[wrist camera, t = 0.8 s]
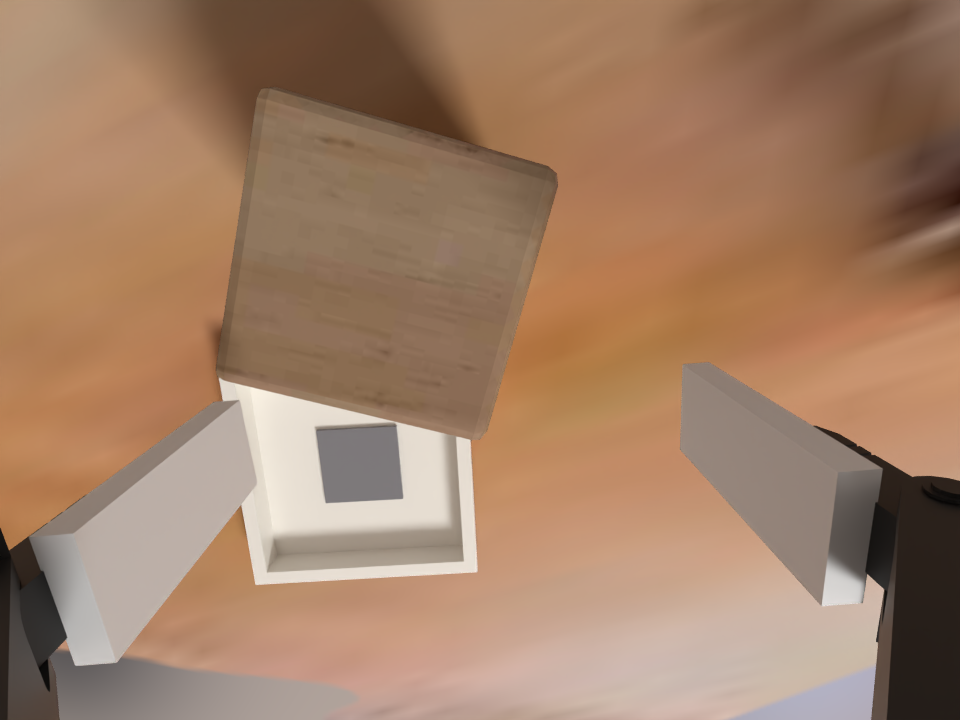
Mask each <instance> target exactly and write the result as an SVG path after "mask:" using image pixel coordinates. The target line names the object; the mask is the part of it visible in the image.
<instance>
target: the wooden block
mask: <svg viewBox="0 0 960 720" xmlns="http://www.w3.org/2000/svg"><path fill="white" fill-rule="evenodd" d="M557 187H558V181H557V173H555V172H554V171H553V170H552V169H551V168H550V167H548V166H546V165H542V164H539V163H535V162H532V161H528V160H525V159H522V158H518V157H515V156H511V155H508V154H504V153H501V152H498V151H494V150H491V149H487V148H484V147H480V146H477V145H473V144H470V143H467V142H463V141H460V140H456V139H453V138H449V137H446V136H443V135H439V134H436V133H432V132H429V131H425V130H422V129H419V128H415V127H412V126H408V125H405V124H401V123H398V122H394V121H391V120H388V119H384V118H381V117H377V116H374V115H370V114H367V113H364V112H360V111H357V110H353V109H350V108H346V107H343V106H340V105H336V104H333V103H329V102H326V101H322V100H319V99H315V98H312V97H309V96H305V95H302V94H298V93H295V92H291V91H288V90H285V89H281V88H278V87H270V88H263V89H261V90H260V92H259V94H258V96H257V100H256V107H255V113H254V120H253V127H252V133H251V140H250V146H249V153H248V160H247V166H246V173H245V179H244V186H243V193H242V199H241V206H240V212H239V219H238V226H237V232H236V239H235V245H234V252H233V259H232V265H231V272H230V279H229V285H228V292H227V298H226V305H225V312H224V318H223V325H222V331H221V338H220V345H219V351H218V358H217V364H216V372H217V377H219V378H221V379H222V380H224V381H227V382H231V383H236V384H240V385H244V386H248V387H252V388H256V389H261V390H265V391H269V392H273V393H277V394H281V395H286V396H290V397H294V398H298V399H302V400H306V401H311V402H315V403H319V404H323V405H327V406H332V407H336V408H340V409H344V410H348V411H352V412H357V413H361V414H365V415H369V416H373V417H377V418H382V419H386V420H390V421H394V422H398V423H402V424H407V425H411V426H415V427H419V428H423V429H427V430H432V431H436V432H440V433H444V434H448V435H453V436H457V437H461V438H465V439H469V440H480V439H481V438H482V437H483V435H484V434H485V433H486V432H487V430H488V426H489V423H490V419H491V416H492V412H493V409H494V405H495V402H496V398H497V395H498V391H499V388H500V385H501V381H502V378H503V374H504V371H505V367H506V364H507V360H508V357H509V353H510V350H511V346H512V343H513V340H514V336H515V333H516V329H517V326H518V322H519V319H520V315H521V312H522V308H523V305H524V301H525V298H526V295H527V291H528V288H529V284H530V281H531V277H532V274H533V270H534V267H535V263H536V260H537V256H538V253H539V249H540V246H541V243H542V239H543V236H544V232H545V229H546V225H547V222H548V218H549V215H550V211H551V208H552V204H553V201H554V198H555V194H556V191H557Z"/></svg>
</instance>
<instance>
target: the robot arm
mask: <svg viewBox="0 0 960 720" xmlns="http://www.w3.org/2000/svg"><path fill="white" fill-rule="evenodd" d="M680 450H681V451H682V452H683V453H684V454H685V456H686V457H687V458H688V459H689V460H690V461H691V462H692V463H693V464H694V466H695V467H696V468H697V469H698V470H699V471H700V472H701V473H702V474H703V475H704V477H705V478H706V479H707V480H708V481H709V482H710V483H711V484H712V485H713V487H714V488H715V489H716V490H717V491H718V492H719V493H720V494H721V495H722V497H723V498H724V499H725V500H726V501H727V502H728V503H729V504H730V505H731V506H732V508H733V509H734V510H735V511H736V512H737V513H738V514H739V515H740V516H741V518H742V519H743V520H744V521H745V522H746V523H747V524H748V525H749V526H750V528H751V529H752V530H753V531H754V532H755V533H756V534H757V535H758V536H759V537H760V539H761V540H762V541H763V542H764V543H765V544H766V545H767V546H768V547H769V549H770V550H771V551H772V552H773V553H774V554H775V555H776V556H777V557H778V559H779V560H780V561H781V562H782V563H783V564H784V565H785V566H786V567H787V568H788V570H789V571H790V572H791V573H792V574H793V575H794V576H795V577H796V578H797V580H798V581H799V582H800V583H801V584H802V585H803V586H804V587H805V588H806V589H807V591H808V592H809V593H810V594H811V595H812V596H813V597H814V598H815V599H816V601H817V602H818V603H819V604H820V605H821V606H831V605H843V604H856V603H863V598H864V592H865V585H866V578H867V574H868V575H869V576H870V577H871V578H872V579H874V580H875V581H876V582H877V583H878V584H879V585H880V586H881V587H882V588H884V595H883V601H882V607H881V614H880V620H879V626H878V632H877V638H876V642H878V652H877V663H876V674H875V685H874V696H873V707H872V718H871V720H960V481H958V480H954V479H950V478H942V477H935V476H915V477H911V476H910V475H908V474H906V473H905V472H903V471H901V470H899V469H898V468H896V467H894V466H893V465H891V464H889V463H888V462H886V461H884V460H882V459H881V458H879V457H877V456H876V455H871V452H869V451H867V450H865V449H864V448H862V447H860V446H857V444H855V443H854V442H852V441H850V440H849V439H847V438H845V437H843V436H842V435H840V434H838V433H835V432H832V431H829V430H826V429H823V428H821V427H818V426H812V425H810V424H809V423H807V422H806V421H804V420H802V419H801V418H799V417H797V416H796V415H794V414H792V413H791V412H789V411H788V410H786V409H784V408H783V407H781V406H779V405H778V404H776V403H774V402H773V401H771V400H770V399H768V398H766V397H765V396H763V395H761V394H760V393H758V392H756V391H755V390H753V389H752V388H750V387H748V386H747V385H745V384H743V383H742V382H740V381H738V380H737V379H735V378H734V377H732V376H730V375H729V374H727V373H725V372H724V371H722V370H720V369H719V368H717V367H716V366H714V365H712V364H711V363H709V362H706V363H693V364H683V372H682V405H681V437H680ZM257 484H258V482H257V478H256V473H255V468H254V464H253V459H252V455H251V450H250V445H249V441H248V436H247V432H246V427H245V422H244V418H243V413H242V409H241V404H240V400H233V401H220V402H213V403H212V404H210V405H209V406H208V407H206V408H205V409H204V410H202V411H201V412H199V413H198V414H197V415H195V416H194V417H193V418H191V419H190V420H188V421H187V422H186V423H184V424H183V425H182V426H180V427H179V428H178V429H176V430H175V431H173V432H172V433H171V434H169V435H168V436H167V437H165V438H164V439H162V440H161V441H160V442H158V443H157V444H156V445H154V446H153V447H151V448H150V449H149V450H147V451H146V452H145V453H143V454H142V455H141V456H139V457H138V458H136V459H135V460H134V461H132V462H131V463H130V464H128V465H127V466H125V467H124V468H123V469H121V470H120V471H119V472H117V473H116V474H115V475H113V476H112V477H110V478H109V479H108V480H106V481H105V482H104V483H102V484H101V485H99V486H98V487H97V488H95V489H94V490H93V491H91V492H90V493H89V494H87V495H85V496H83V497H82V498H81V499H79V500H78V501H77V502H75V503H74V504H73V505H71V506H70V507H68V508H67V509H66V510H65V511H64V512H62V513H60V514H59V515H57V516H56V517H55V518H53V519H52V520H51V521H50V522H49V523H46V524H45V525H44V526H42V527H41V528H40V529H38V530H37V531H35V532H34V533H33V534H31V535H30V536H29V537H27V538H26V539H24V540H23V541H22V542H20V543H19V544H18V545H16V546H15V547H13V548H12V549H11V550H9V549H8V547H7V544H6V542H5V539H4V536H3V534H2V531H1V528H0V720H60V719H59V709H58V697H57V686H56V675H55V671H54V668H53V666H52V663H51V661H50V658H49V656H50V655H51V654H52V653H53V652H54V651H55V650H56V649H57V648H58V647H59V646H60V645H61V644H62V643H63V642H64V641H65V640H66V641H67V644H68V647H69V650H70V652H71V655H72V658H73V661H74V663H75V666H79V665H92V664H105V663H116V662H117V661H118V660H119V659H120V658H121V656H122V655H123V654H124V652H125V651H126V650H127V649H128V647H129V646H130V645H131V644H132V642H133V641H134V640H135V638H136V637H137V636H138V635H139V633H140V632H141V631H142V630H143V628H144V627H145V626H146V625H147V623H148V622H149V621H150V619H151V618H152V617H153V616H154V614H155V613H156V612H157V611H158V609H159V608H160V607H161V606H162V604H163V603H164V602H165V600H166V599H167V598H168V597H169V595H170V594H171V593H172V592H173V590H174V589H175V588H176V586H177V585H178V584H179V583H180V581H181V580H182V579H183V578H184V576H185V575H186V574H187V573H188V571H189V570H190V569H191V567H192V566H193V565H194V564H195V562H196V561H197V560H198V559H199V557H200V556H201V555H202V554H203V552H204V551H205V550H206V548H207V547H208V546H209V545H210V543H211V542H212V541H213V540H214V538H215V537H216V536H217V534H218V533H219V532H220V531H221V529H222V528H223V527H224V526H225V524H226V523H227V522H228V521H229V519H230V518H231V517H232V515H233V514H234V513H235V512H236V510H237V509H238V508H239V507H240V505H241V504H242V503H243V502H244V500H245V499H246V498H247V496H248V495H249V494H250V493H251V491H252V490H253V489H254V488H255V486H256V485H257Z"/></svg>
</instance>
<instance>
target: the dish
mask: <svg viewBox="0 0 960 720" xmlns="http://www.w3.org/2000/svg"><path fill="white" fill-rule="evenodd" d="M219 382H220V387H221V393H222V398H223V401H233V400H240V404H241V409H242V413H243V418H244V422H245V427H246V432H247V436H248V441H249V445H250V450H251V455H252V459H253V464H254V468H255V473H256V478H257V482H258V484H257V485H256V486H255V488H254V489H253V490H252V491H251V493H250V494H249V495H248V496H247V498H246V499H245V500H244V502H243V503H242V504H241V505H242V511H243V516H244V522H245V528H246V533H247V539H248V544H249V550H250V556H251V561H252V567H253V573H254V578H255V584H256V585H261V584H278V583H296V582H313V581H331V580H348V579H366V578H383V577H401V576H418V575H436V574H453V573H471V572H478V569H477V542H476V524H475V506H474V488H473V470H472V452H471V440H469V439H465V438H461V437H457V436H453V435H448V434H444V433H440V432H436V431H432V430H427V429H423V428H419V427H415V426H411V425H407V424H402V423H398V422H394V421H390V420H386V419H382V418H377V417H373V416H369V415H365V414H361V413H357V412H352V411H348V410H344V409H340V408H336V407H332V406H327V405H323V404H319V403H315V402H311V401H306V400H302V399H298V398H294V397H290V396H286V395H281V394H277V393H273V392H269V391H265V390H261V389H256V388H252V387H248V386H244V385H240V384H236V383H231V382H227V381H224V380H222V379H221V378H219Z"/></svg>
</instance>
